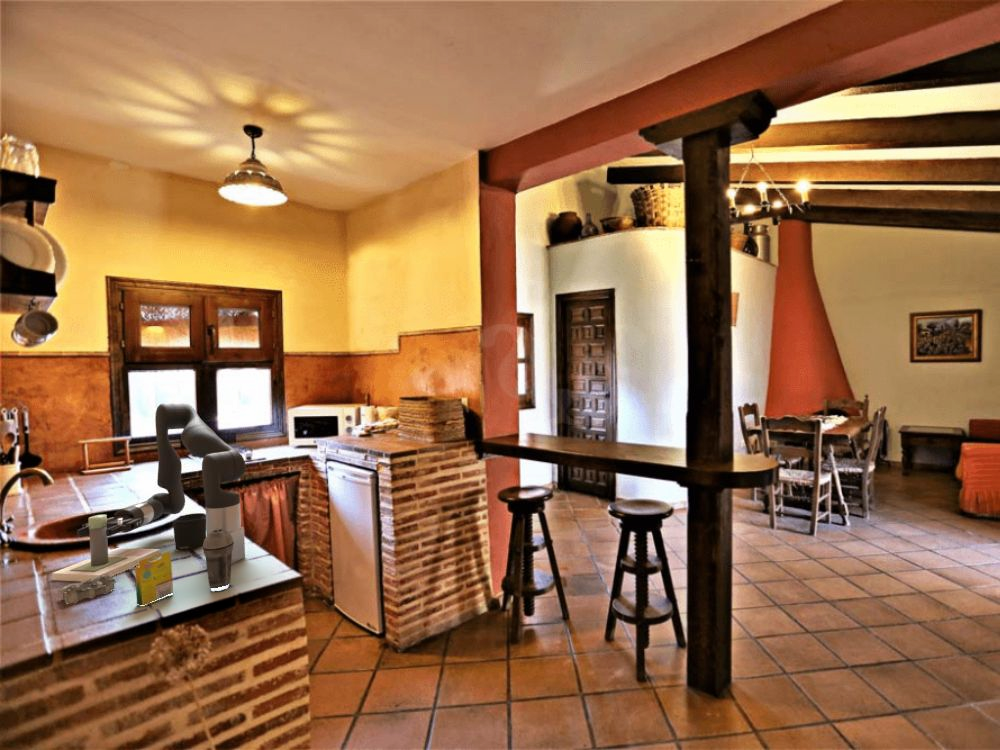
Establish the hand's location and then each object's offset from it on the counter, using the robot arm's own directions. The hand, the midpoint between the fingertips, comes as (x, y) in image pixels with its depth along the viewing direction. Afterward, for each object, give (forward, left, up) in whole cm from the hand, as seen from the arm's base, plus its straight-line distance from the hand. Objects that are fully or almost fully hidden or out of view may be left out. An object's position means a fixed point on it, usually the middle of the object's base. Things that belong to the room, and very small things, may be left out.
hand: (92, 533), depth 145 cm
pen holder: (-12, -23, -12) cm, 28 cm away
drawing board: (0, -5, -12) cm, 13 cm away
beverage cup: (-46, +5, -12) cm, 48 cm away
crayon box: (-34, +13, -12) cm, 38 cm away
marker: (0, -2, -10) cm, 10 cm away
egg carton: (-12, +12, -12) cm, 21 cm away
